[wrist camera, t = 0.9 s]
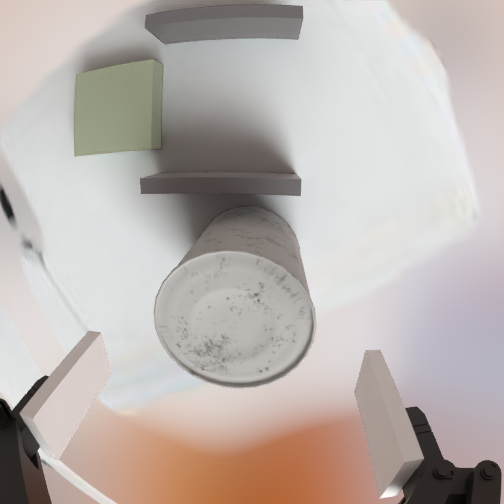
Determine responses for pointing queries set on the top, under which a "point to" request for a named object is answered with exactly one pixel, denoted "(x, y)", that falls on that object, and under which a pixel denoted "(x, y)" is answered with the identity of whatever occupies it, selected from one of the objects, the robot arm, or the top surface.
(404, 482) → the robot arm
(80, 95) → the block
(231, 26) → the parallel grey rails
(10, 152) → the top surface
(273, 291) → the grey cylindrical piece
